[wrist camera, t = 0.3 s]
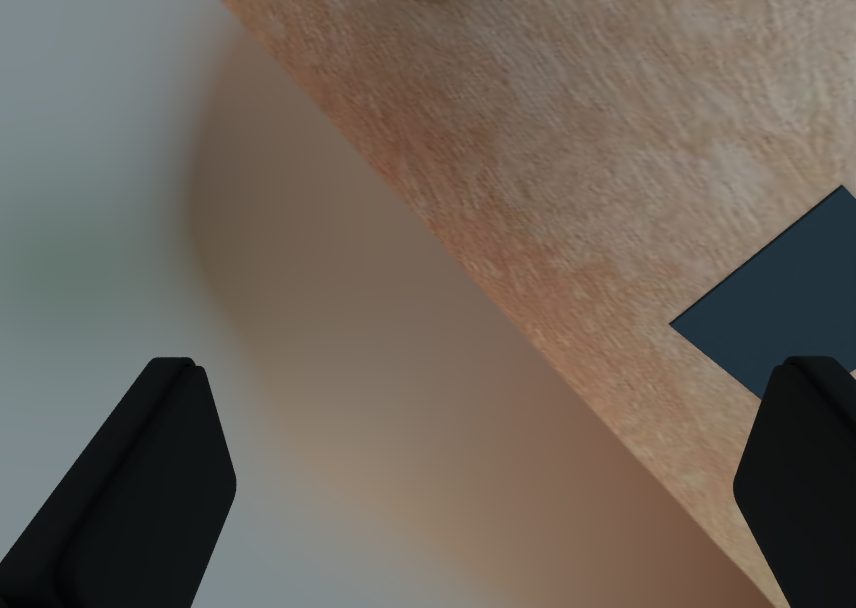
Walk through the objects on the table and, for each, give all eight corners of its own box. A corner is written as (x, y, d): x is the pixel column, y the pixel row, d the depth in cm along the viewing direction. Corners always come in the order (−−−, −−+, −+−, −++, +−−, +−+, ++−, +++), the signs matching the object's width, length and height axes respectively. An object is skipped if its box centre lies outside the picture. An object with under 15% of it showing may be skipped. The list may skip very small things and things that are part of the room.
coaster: (841, 184, 27) (843, 186, 27) (952, 302, 30) (954, 304, 30) (669, 324, 31) (669, 325, 31) (781, 415, 34) (782, 416, 34)
